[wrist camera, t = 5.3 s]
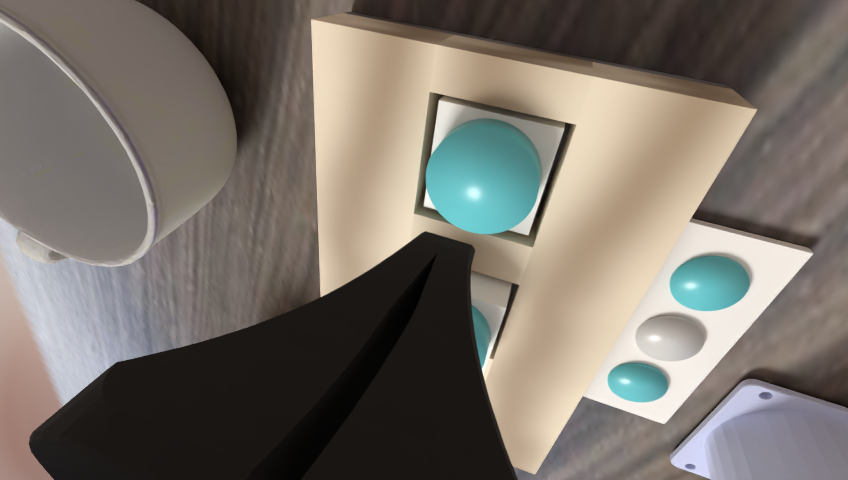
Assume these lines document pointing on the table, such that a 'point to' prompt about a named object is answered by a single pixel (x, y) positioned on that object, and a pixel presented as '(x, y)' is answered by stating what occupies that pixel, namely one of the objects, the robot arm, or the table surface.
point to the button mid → (487, 311)
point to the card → (693, 316)
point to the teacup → (105, 129)
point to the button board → (560, 203)
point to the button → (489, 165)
